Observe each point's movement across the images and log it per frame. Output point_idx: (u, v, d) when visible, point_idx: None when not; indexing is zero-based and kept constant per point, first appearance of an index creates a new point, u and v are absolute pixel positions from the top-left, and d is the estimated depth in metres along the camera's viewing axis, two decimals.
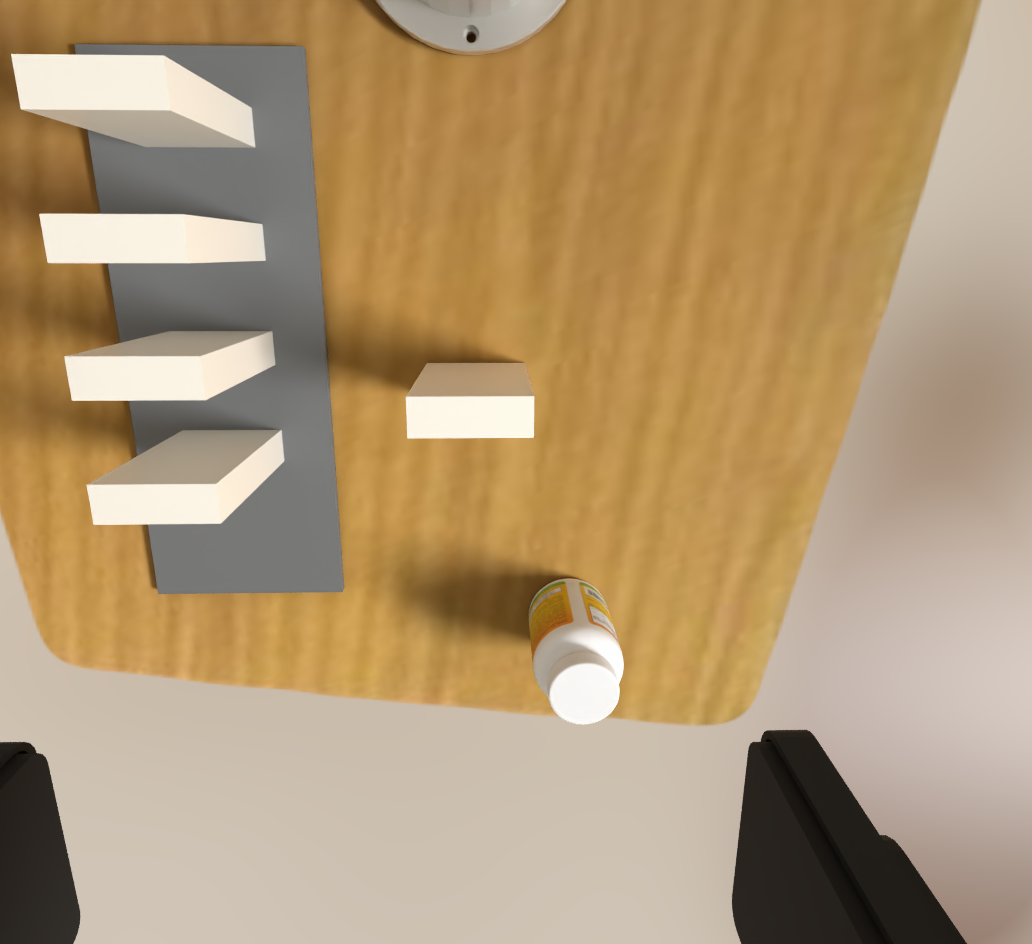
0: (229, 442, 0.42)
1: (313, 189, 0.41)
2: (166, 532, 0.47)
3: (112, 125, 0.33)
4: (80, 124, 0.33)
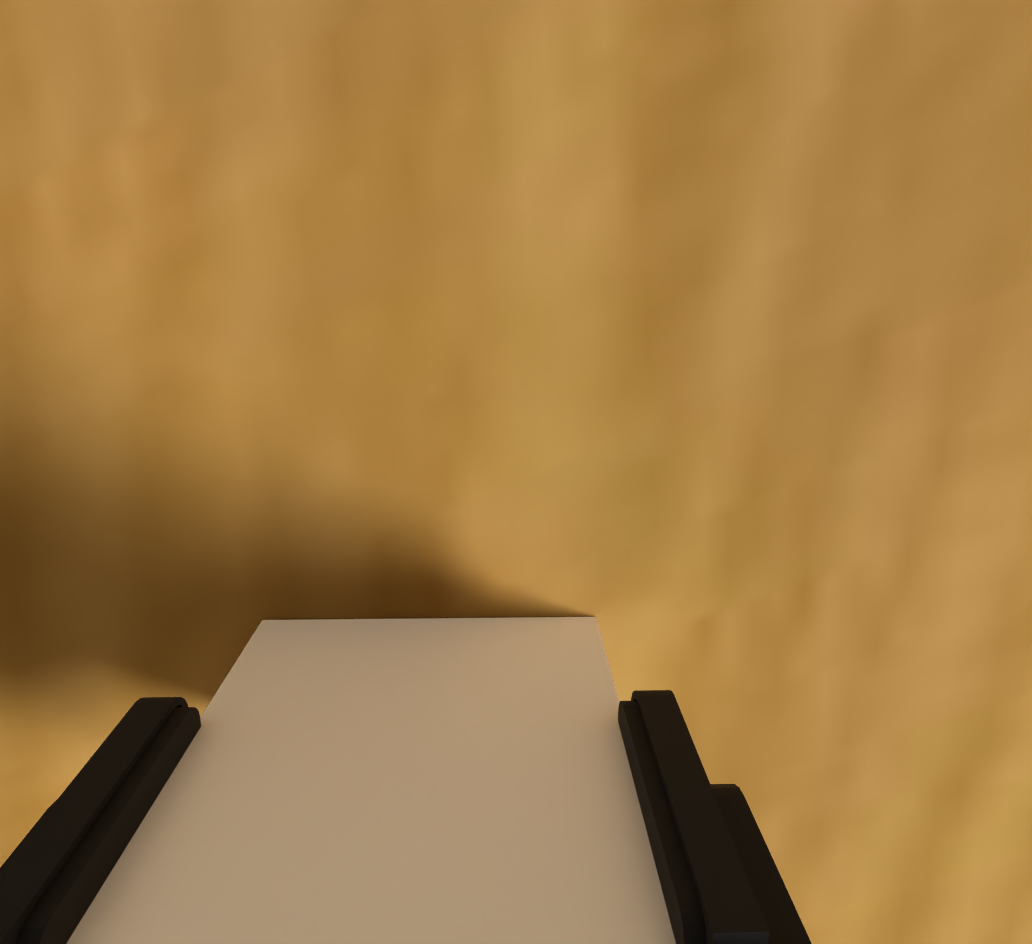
0: None
1: None
2: None
3: None
4: None
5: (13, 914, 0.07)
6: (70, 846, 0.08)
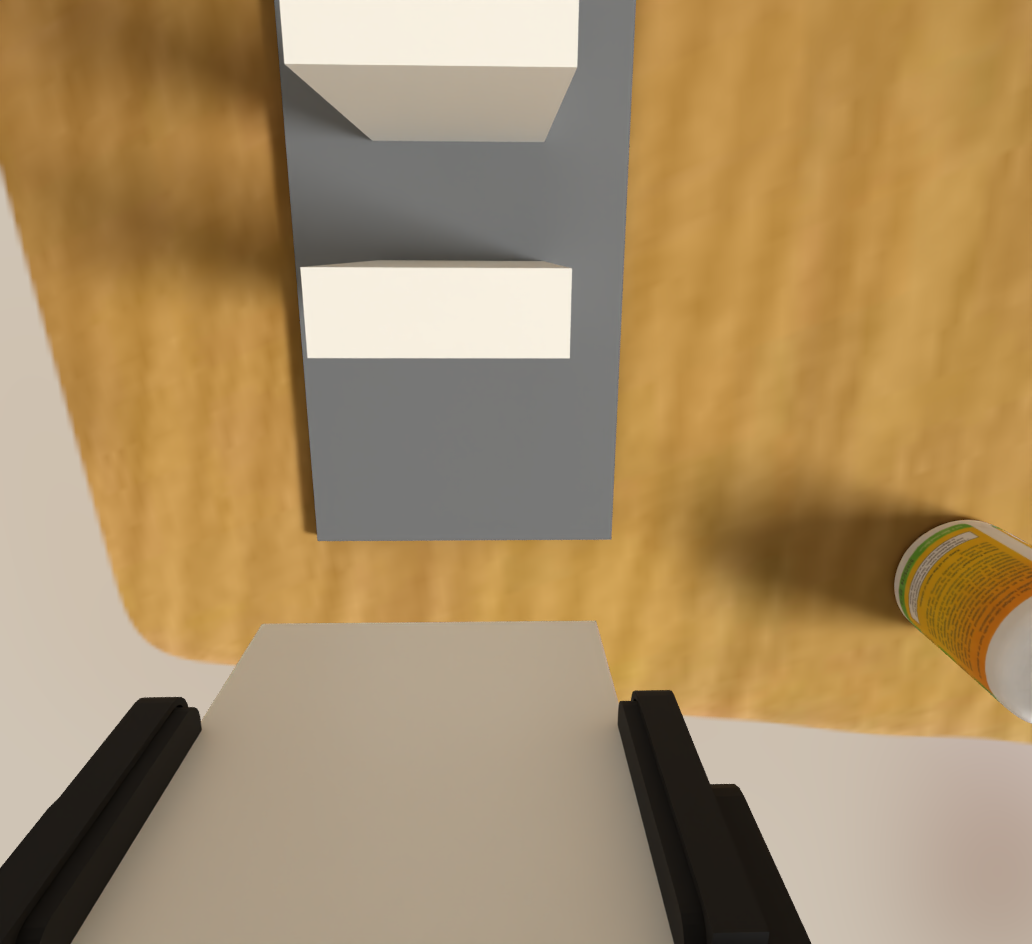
0: None
1: None
2: (338, 438, 0.28)
3: None
4: None
5: (13, 914, 0.07)
6: (72, 845, 0.08)
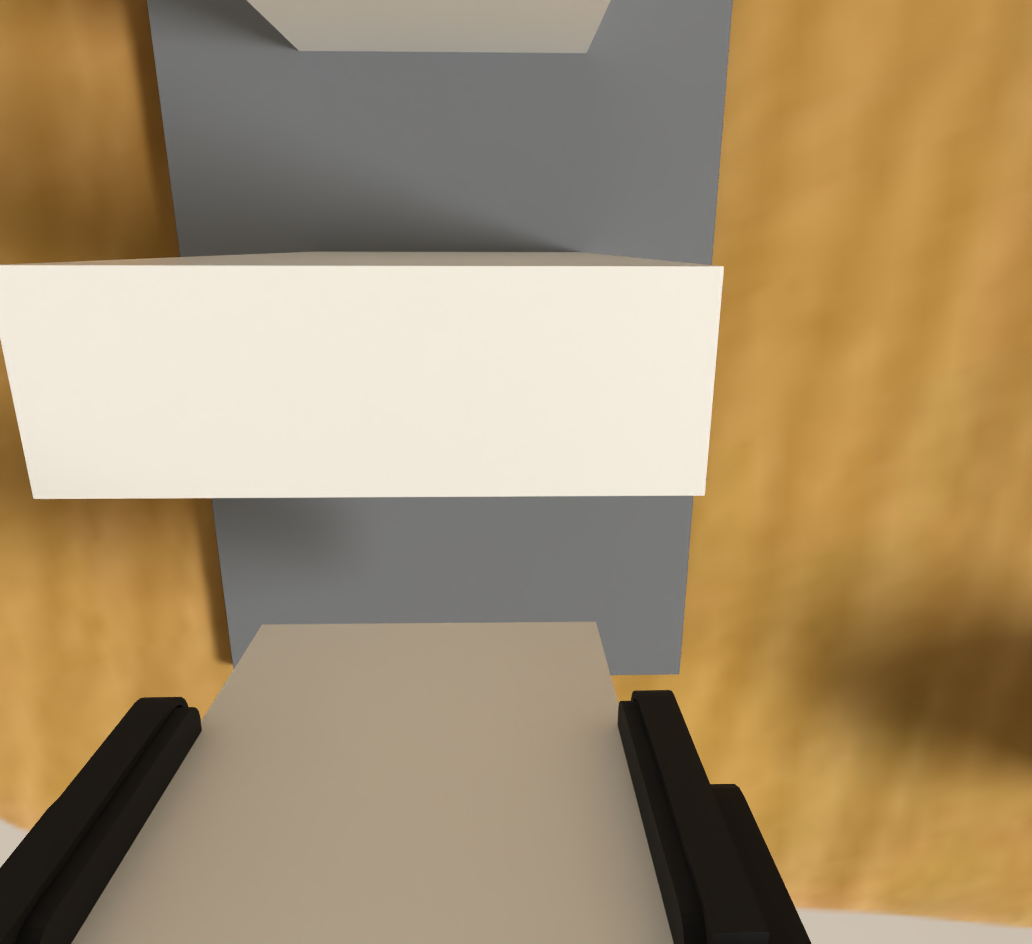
0: (485, 253, 0.14)
1: None
2: (260, 530, 0.18)
3: None
4: None
5: (13, 914, 0.07)
6: (71, 845, 0.08)
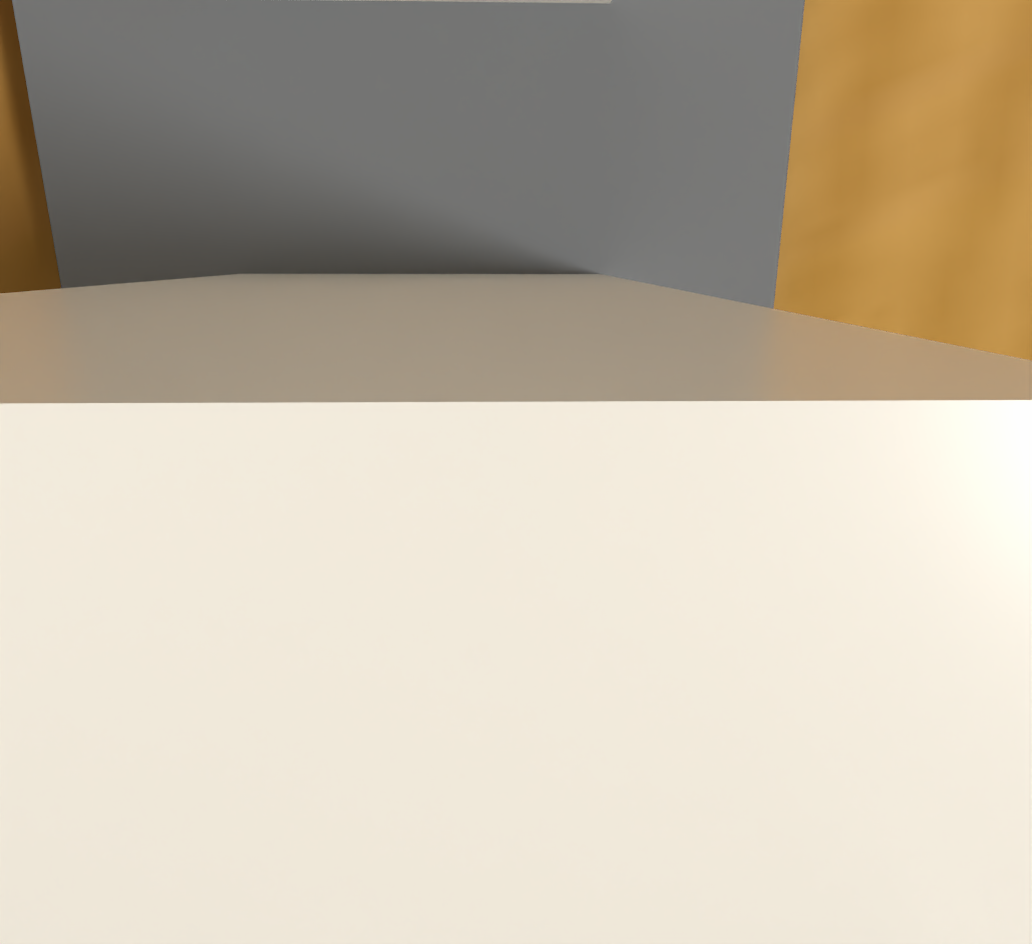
0: (470, 280, 0.09)
1: None
2: None
3: None
4: None
5: None
6: None
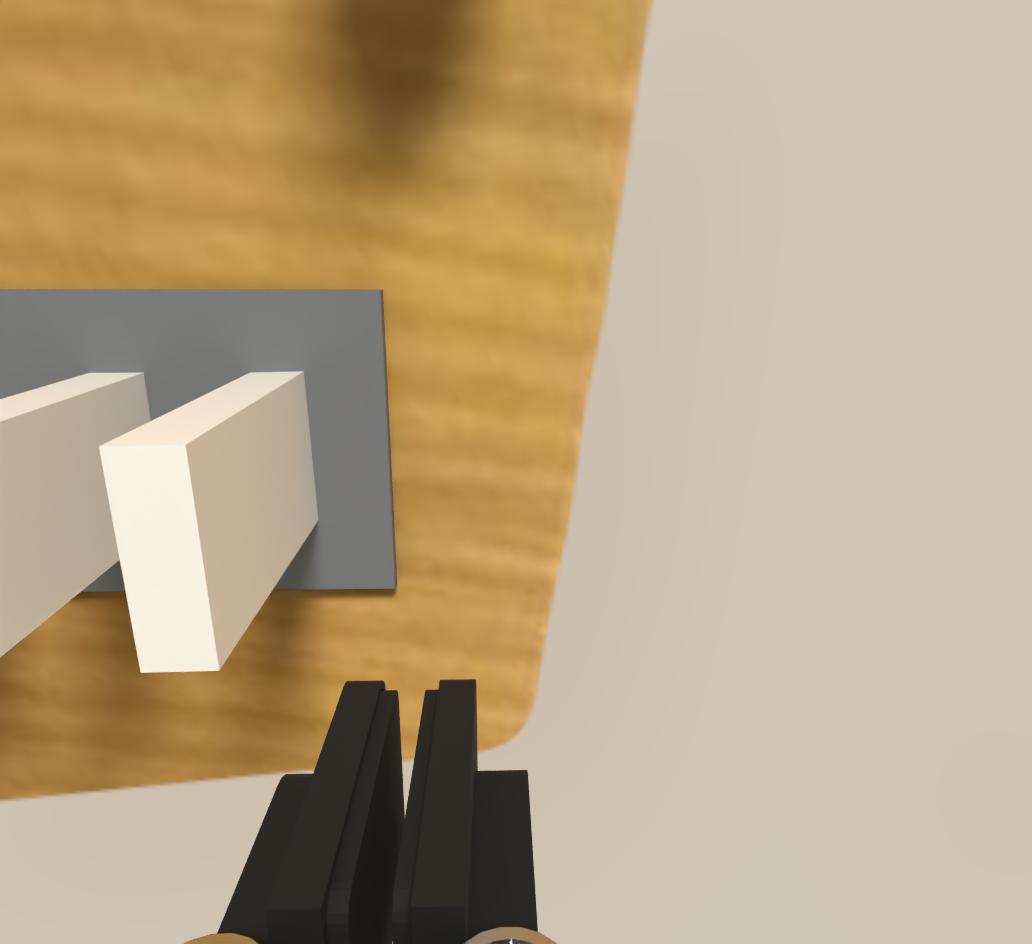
0: None
1: None
2: None
3: None
4: None
5: (321, 878, 0.07)
6: (341, 816, 0.08)
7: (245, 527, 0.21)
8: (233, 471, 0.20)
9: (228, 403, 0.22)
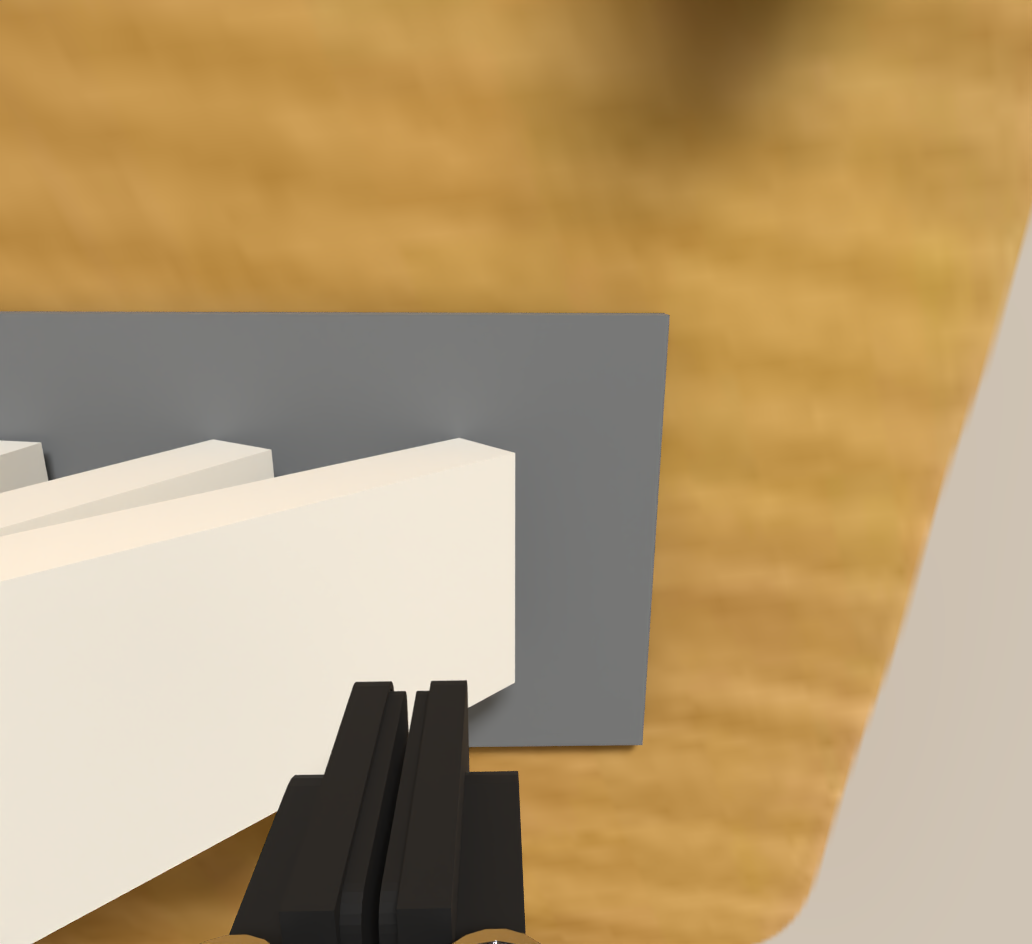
0: None
1: None
2: (491, 712, 0.20)
3: None
4: None
5: (333, 879, 0.07)
6: (351, 817, 0.08)
7: (179, 722, 0.12)
8: (140, 636, 0.12)
9: (247, 505, 0.13)
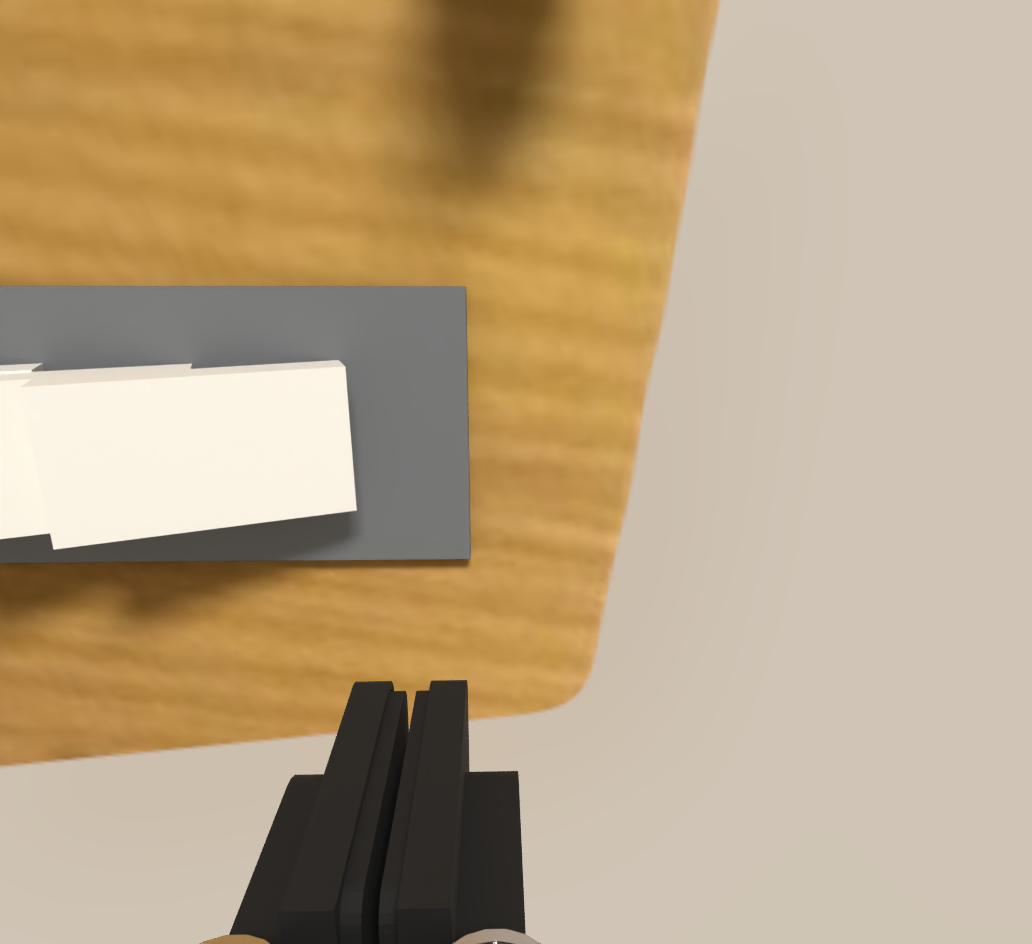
0: None
1: None
2: (374, 536, 0.33)
3: None
4: None
5: (334, 879, 0.07)
6: (352, 817, 0.08)
7: (135, 468, 0.27)
8: (115, 422, 0.26)
9: (179, 374, 0.27)
